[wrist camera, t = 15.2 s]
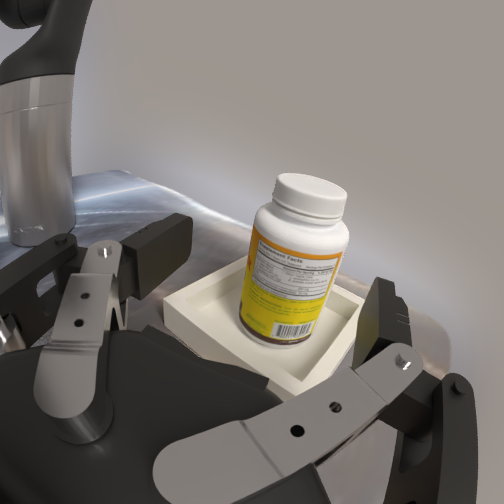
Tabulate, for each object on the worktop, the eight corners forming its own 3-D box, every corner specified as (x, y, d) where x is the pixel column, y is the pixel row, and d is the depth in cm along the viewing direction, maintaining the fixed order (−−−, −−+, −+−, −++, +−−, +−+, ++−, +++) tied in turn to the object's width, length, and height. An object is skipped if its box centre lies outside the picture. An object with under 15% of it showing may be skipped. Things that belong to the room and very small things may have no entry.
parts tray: (164, 325, 19) (163, 298, 18) (258, 270, 27) (262, 247, 26) (294, 424, 14) (308, 403, 13) (362, 327, 22) (374, 304, 21)
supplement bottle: (268, 289, 23) (296, 166, 18) (325, 324, 21) (374, 195, 16) (219, 320, 19) (240, 172, 14) (284, 367, 17) (339, 212, 12)
